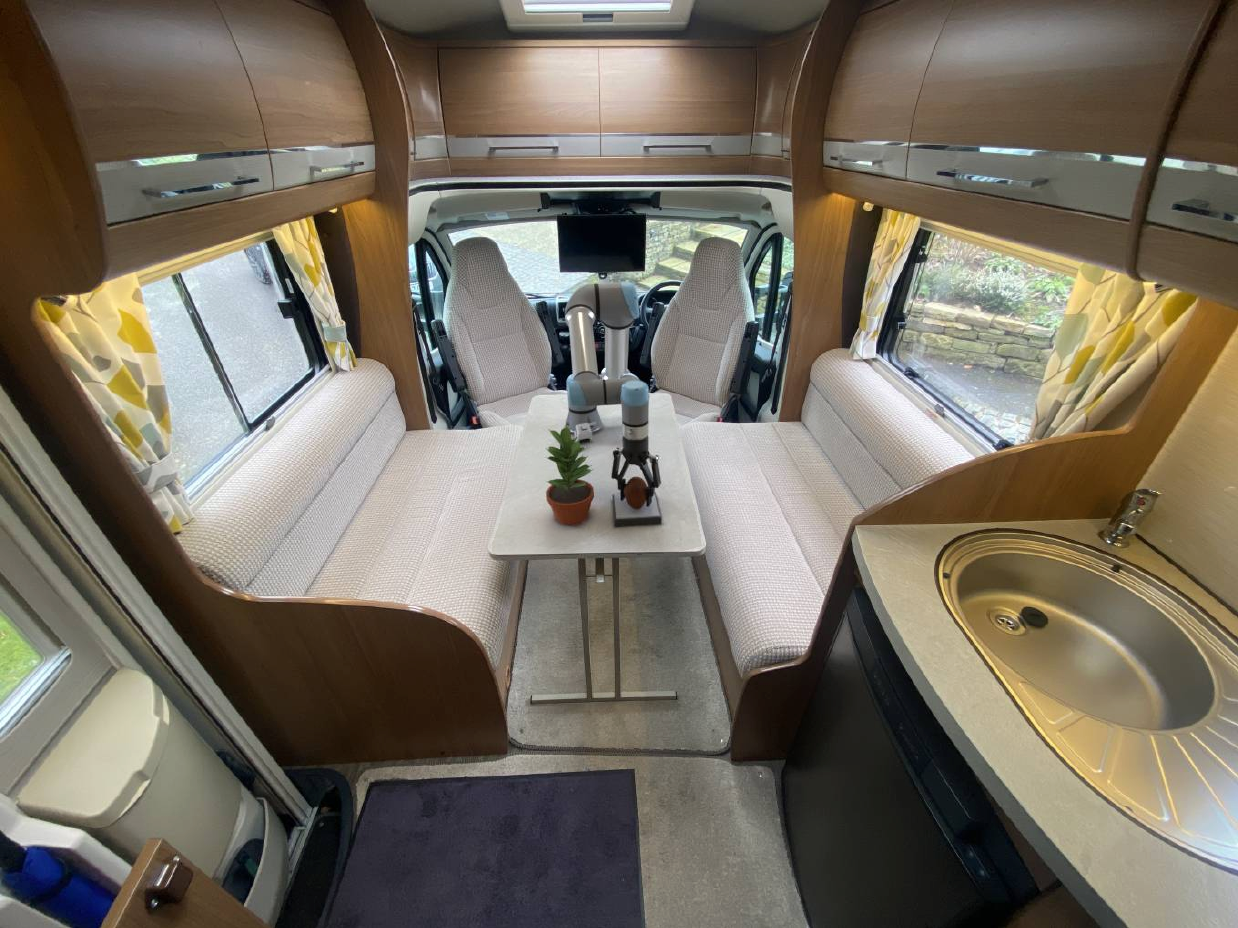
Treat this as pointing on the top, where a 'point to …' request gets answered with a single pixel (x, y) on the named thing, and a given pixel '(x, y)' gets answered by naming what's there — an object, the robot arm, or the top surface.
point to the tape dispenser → (583, 433)
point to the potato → (635, 492)
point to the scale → (635, 513)
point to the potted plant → (569, 481)
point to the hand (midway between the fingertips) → (636, 501)
